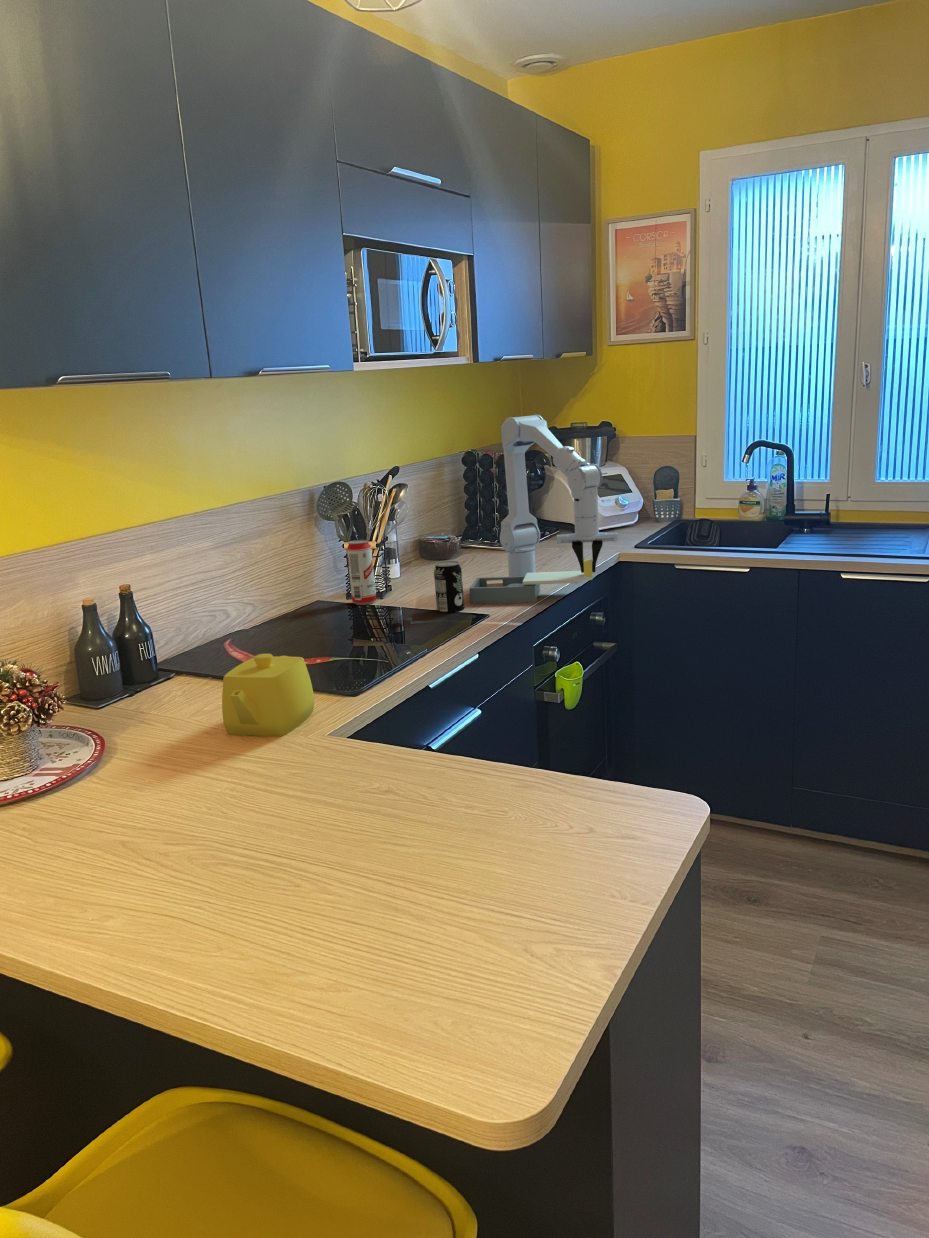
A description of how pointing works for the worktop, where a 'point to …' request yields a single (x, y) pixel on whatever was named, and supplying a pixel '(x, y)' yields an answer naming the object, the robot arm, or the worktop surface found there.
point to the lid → (560, 576)
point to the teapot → (267, 696)
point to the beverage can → (448, 587)
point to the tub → (503, 591)
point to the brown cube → (515, 585)
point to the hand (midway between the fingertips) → (588, 571)
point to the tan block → (494, 583)
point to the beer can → (361, 572)
